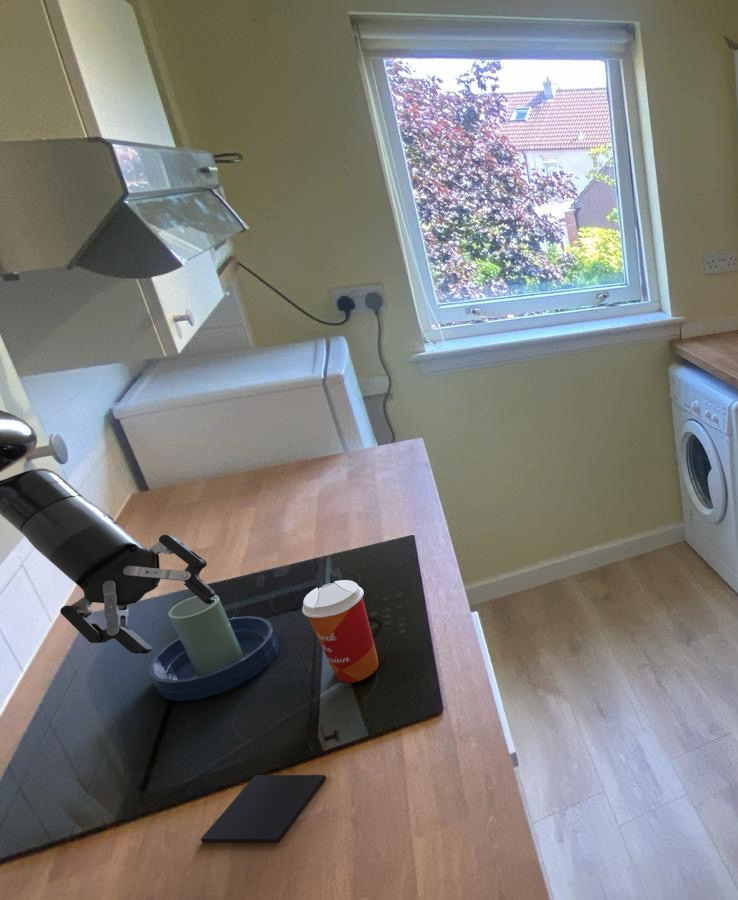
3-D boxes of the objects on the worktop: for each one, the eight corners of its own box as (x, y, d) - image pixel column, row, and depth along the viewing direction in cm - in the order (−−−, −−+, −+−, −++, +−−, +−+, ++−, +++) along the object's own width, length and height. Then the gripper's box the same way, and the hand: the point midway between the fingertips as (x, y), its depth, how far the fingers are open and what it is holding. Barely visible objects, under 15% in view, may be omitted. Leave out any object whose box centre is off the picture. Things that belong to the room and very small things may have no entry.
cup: (208, 683, 108) (180, 623, 103) (188, 670, 110) (159, 611, 106) (252, 659, 112) (227, 600, 108) (232, 647, 115) (206, 589, 110)
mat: (202, 842, 84) (200, 839, 84) (256, 778, 92) (255, 774, 92) (278, 842, 84) (276, 839, 83) (326, 778, 92) (325, 774, 92)
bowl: (189, 717, 102) (178, 695, 101) (140, 682, 109) (129, 661, 107) (300, 654, 114) (292, 633, 112) (249, 626, 121) (241, 606, 119)
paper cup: (323, 669, 110) (294, 592, 105) (379, 646, 115) (354, 571, 109) (335, 696, 105) (305, 617, 99) (393, 671, 110) (367, 594, 104)
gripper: (4, 578, 88) (111, 670, 90) (123, 496, 94) (221, 584, 95) (40, 582, 95) (139, 667, 96) (149, 505, 101) (240, 587, 102)
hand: (180, 626), depth 96 cm, fingers open, 8 cm apart
